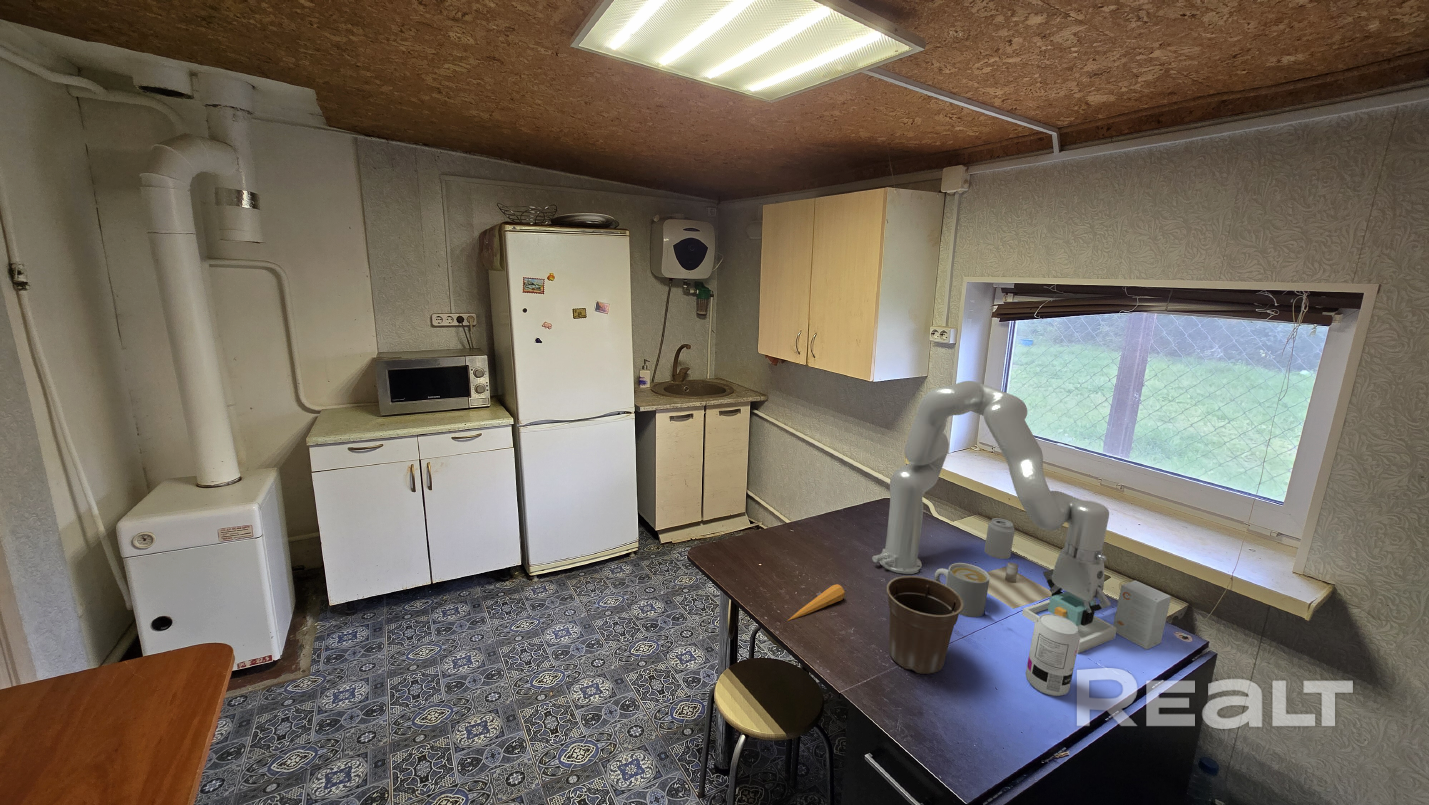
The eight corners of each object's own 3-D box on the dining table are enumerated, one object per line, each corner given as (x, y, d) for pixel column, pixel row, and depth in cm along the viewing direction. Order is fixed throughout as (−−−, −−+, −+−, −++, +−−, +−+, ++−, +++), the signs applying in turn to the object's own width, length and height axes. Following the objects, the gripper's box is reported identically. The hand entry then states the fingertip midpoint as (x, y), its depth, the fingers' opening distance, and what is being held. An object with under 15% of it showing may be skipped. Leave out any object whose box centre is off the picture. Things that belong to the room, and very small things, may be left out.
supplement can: (1017, 671, 123) (1027, 612, 119) (1051, 670, 123) (1063, 611, 120) (1041, 698, 115) (1053, 636, 111) (1077, 697, 115) (1091, 635, 112)
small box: (1161, 643, 134) (1172, 596, 131) (1146, 650, 131) (1158, 602, 128) (1124, 624, 141) (1135, 579, 138) (1110, 630, 138) (1120, 584, 135)
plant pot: (914, 627, 137) (922, 569, 134) (969, 668, 123) (979, 604, 120) (865, 645, 130) (871, 584, 126) (917, 690, 116) (926, 623, 112)
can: (1004, 551, 178) (1009, 517, 175) (1014, 563, 170) (1020, 528, 168) (980, 549, 178) (985, 515, 176) (989, 561, 171) (994, 526, 168)
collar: (1092, 620, 136) (1095, 605, 135) (1071, 628, 133) (1074, 613, 132) (1065, 604, 142) (1067, 591, 141) (1043, 612, 139) (1046, 598, 138)
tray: (1077, 653, 129) (1079, 642, 129) (1021, 618, 142) (1023, 608, 141) (1114, 638, 135) (1117, 628, 135) (1057, 606, 148) (1059, 596, 148)
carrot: (837, 597, 151) (833, 581, 151) (849, 599, 147) (844, 583, 147) (783, 628, 140) (779, 611, 140) (795, 631, 136) (790, 613, 136)
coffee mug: (991, 609, 146) (997, 575, 144) (971, 621, 140) (977, 586, 138) (945, 585, 157) (950, 554, 154) (925, 596, 151) (929, 563, 149)
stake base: (1012, 612, 145) (1016, 591, 143) (963, 582, 159) (966, 562, 157) (1056, 598, 152) (1060, 578, 151) (1005, 570, 166) (1008, 551, 165)
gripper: (1130, 564, 128) (1115, 631, 132) (1057, 533, 143) (1046, 594, 147) (1110, 571, 125) (1096, 639, 129) (1039, 538, 140) (1028, 600, 144)
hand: (1070, 614), depth 138 cm, fingers closed on collar, 7 cm apart
